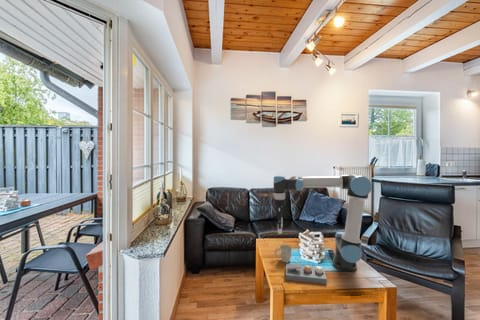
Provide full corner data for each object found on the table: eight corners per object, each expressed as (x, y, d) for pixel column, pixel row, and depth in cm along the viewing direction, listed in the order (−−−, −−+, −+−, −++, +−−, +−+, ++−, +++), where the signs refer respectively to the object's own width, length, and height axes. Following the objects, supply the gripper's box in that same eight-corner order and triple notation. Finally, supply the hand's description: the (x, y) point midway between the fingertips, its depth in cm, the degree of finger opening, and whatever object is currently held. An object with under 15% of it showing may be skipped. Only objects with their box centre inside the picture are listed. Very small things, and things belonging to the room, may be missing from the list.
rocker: (301, 264, 148) (300, 262, 148) (301, 268, 143) (300, 266, 143) (288, 266, 150) (288, 264, 150) (288, 269, 145) (288, 268, 145)
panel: (323, 272, 150) (323, 265, 149) (326, 284, 136) (326, 276, 136) (286, 268, 155) (286, 262, 155) (285, 279, 141) (285, 272, 141)
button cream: (322, 271, 145) (322, 266, 145) (323, 274, 141) (323, 269, 141) (315, 270, 146) (315, 265, 146) (316, 274, 142) (316, 269, 142)
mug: (291, 263, 162) (291, 249, 161) (274, 262, 164) (274, 248, 164) (291, 258, 170) (291, 245, 170) (274, 257, 172) (274, 243, 172)
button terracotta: (310, 270, 147) (310, 265, 146) (311, 273, 142) (311, 268, 142) (304, 269, 147) (304, 264, 147) (304, 273, 143) (304, 268, 143)
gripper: (275, 195, 166) (275, 224, 167) (272, 202, 142) (273, 236, 142) (285, 195, 165) (286, 224, 165) (284, 202, 140) (285, 236, 141)
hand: (280, 230), depth 154 cm, fingers open, 13 cm apart
